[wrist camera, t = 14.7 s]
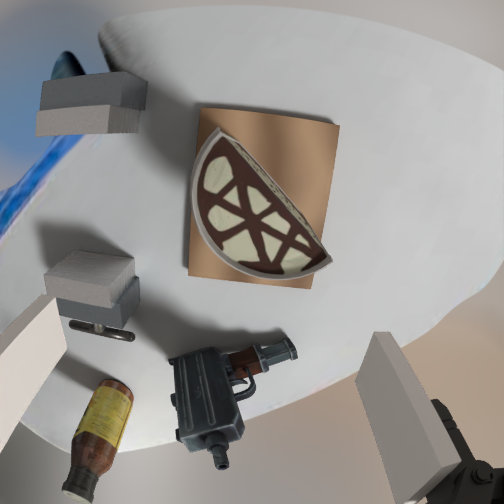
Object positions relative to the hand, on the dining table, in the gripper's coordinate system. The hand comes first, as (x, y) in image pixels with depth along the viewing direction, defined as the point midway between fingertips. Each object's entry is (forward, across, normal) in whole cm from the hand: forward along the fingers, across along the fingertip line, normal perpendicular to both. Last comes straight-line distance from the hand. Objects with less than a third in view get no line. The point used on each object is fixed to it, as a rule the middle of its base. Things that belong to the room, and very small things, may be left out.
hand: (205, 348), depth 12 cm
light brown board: (+21, +2, +2) cm, 21 cm away
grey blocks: (+21, -15, -1) cm, 26 cm away
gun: (+21, +1, -17) cm, 27 cm away
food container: (+20, +1, +2) cm, 20 cm away
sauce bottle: (+22, -16, -29) cm, 39 cm away
